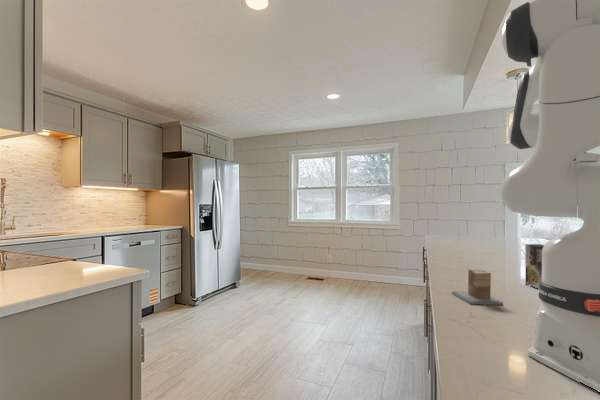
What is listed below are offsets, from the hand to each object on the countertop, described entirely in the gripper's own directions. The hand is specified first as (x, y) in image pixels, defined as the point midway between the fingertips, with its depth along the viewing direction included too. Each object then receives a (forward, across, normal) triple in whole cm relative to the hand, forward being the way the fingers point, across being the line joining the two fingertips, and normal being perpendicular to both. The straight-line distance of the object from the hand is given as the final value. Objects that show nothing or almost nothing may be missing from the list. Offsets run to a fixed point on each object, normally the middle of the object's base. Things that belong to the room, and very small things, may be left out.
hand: (563, 205), depth 90 cm
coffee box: (+31, -22, +12) cm, 40 cm away
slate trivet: (+31, -7, -22) cm, 39 cm away
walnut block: (+30, -7, -21) cm, 37 cm away
